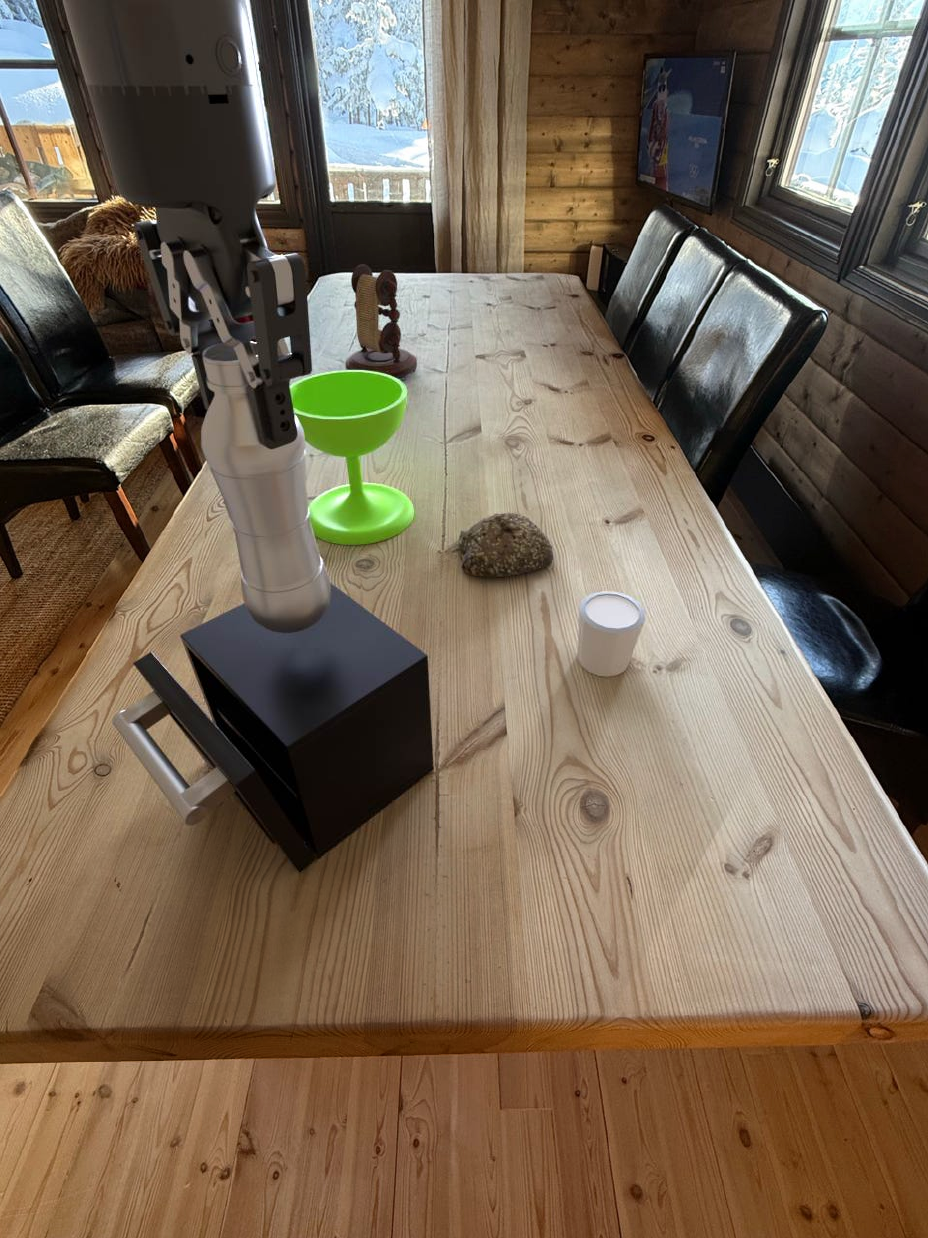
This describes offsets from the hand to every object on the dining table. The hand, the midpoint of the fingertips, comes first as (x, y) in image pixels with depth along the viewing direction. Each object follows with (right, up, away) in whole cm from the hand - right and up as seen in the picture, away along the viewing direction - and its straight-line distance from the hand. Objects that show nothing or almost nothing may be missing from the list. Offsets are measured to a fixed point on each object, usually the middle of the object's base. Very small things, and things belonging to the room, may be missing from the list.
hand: (251, 425), depth 41 cm
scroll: (-4, +39, +97) cm, 105 cm away
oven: (0, -25, +22) cm, 34 cm away
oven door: (-7, -30, +17) cm, 35 cm away
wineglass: (-2, +3, +55) cm, 55 cm away
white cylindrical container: (+29, -17, +33) cm, 46 cm away
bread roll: (+18, -3, +48) cm, 52 cm away
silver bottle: (0, -12, +10) cm, 16 cm away
